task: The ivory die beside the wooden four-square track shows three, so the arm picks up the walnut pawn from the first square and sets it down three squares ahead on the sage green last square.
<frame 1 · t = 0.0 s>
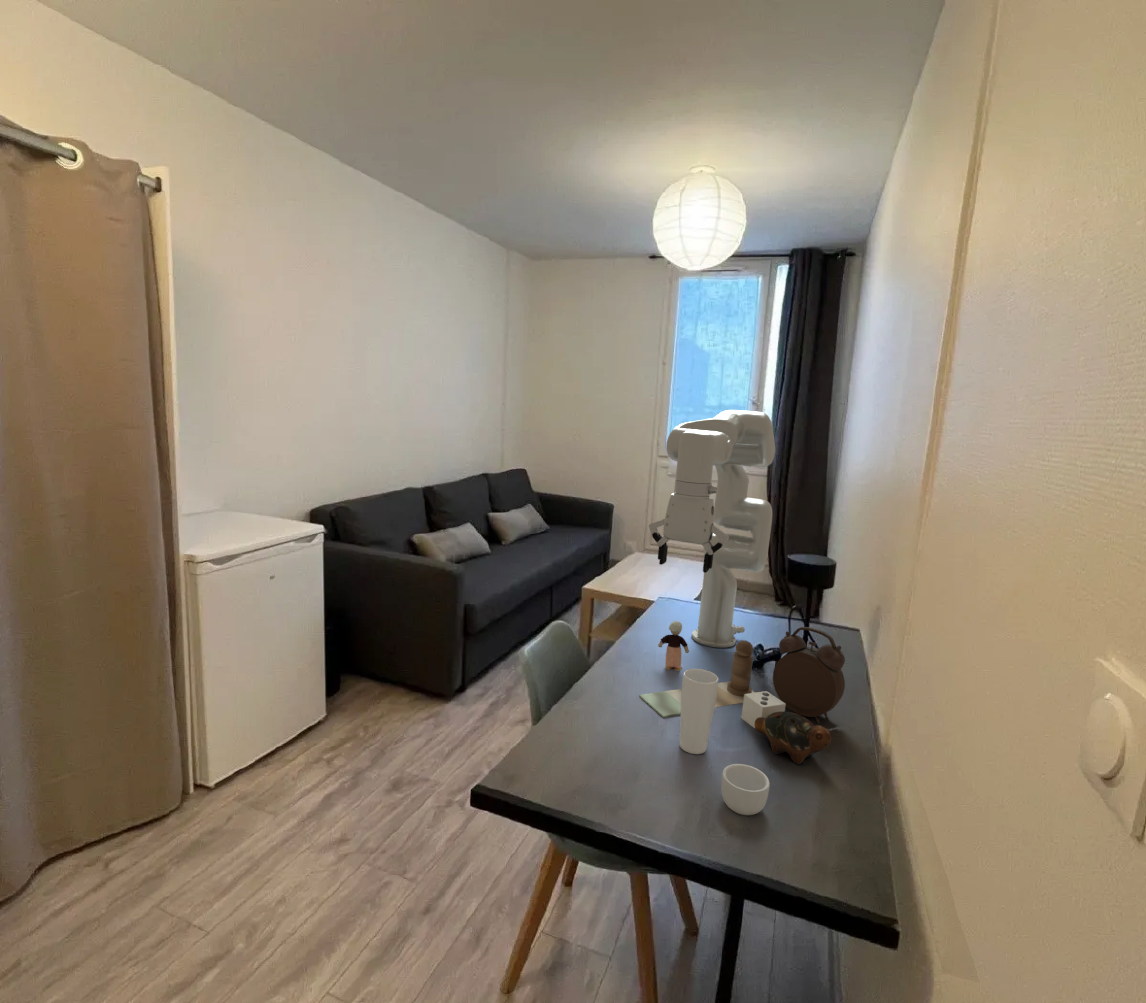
hand: (684, 567, 136), 31 cm above the table, tool pointing down, fingers open, 9 cm apart
track board: (702, 698, 143), on the table
die: (761, 725, 133), on the table
grandmother figurine: (671, 669, 158), on the table
pawn: (739, 691, 147), resting on track board
alarm clock: (803, 715, 139), on the table
decorative turtle: (788, 753, 123), on the table
teacup: (742, 804, 106), on the table
drinking glass: (692, 749, 122), on the table
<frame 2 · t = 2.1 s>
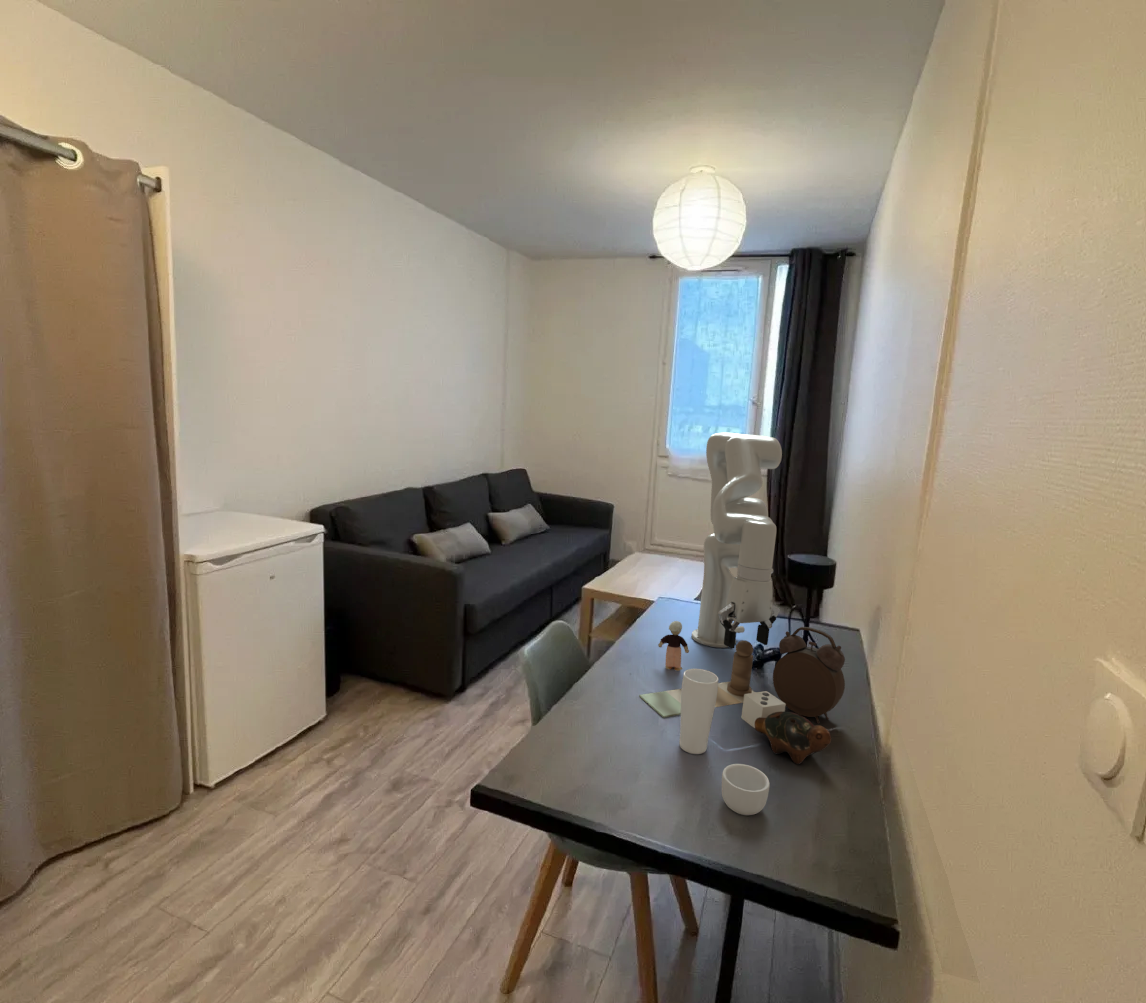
hand: (745, 644, 145), 12 cm above the table, tool pointing down, fingers open, 9 cm apart
nothing on the table moved.
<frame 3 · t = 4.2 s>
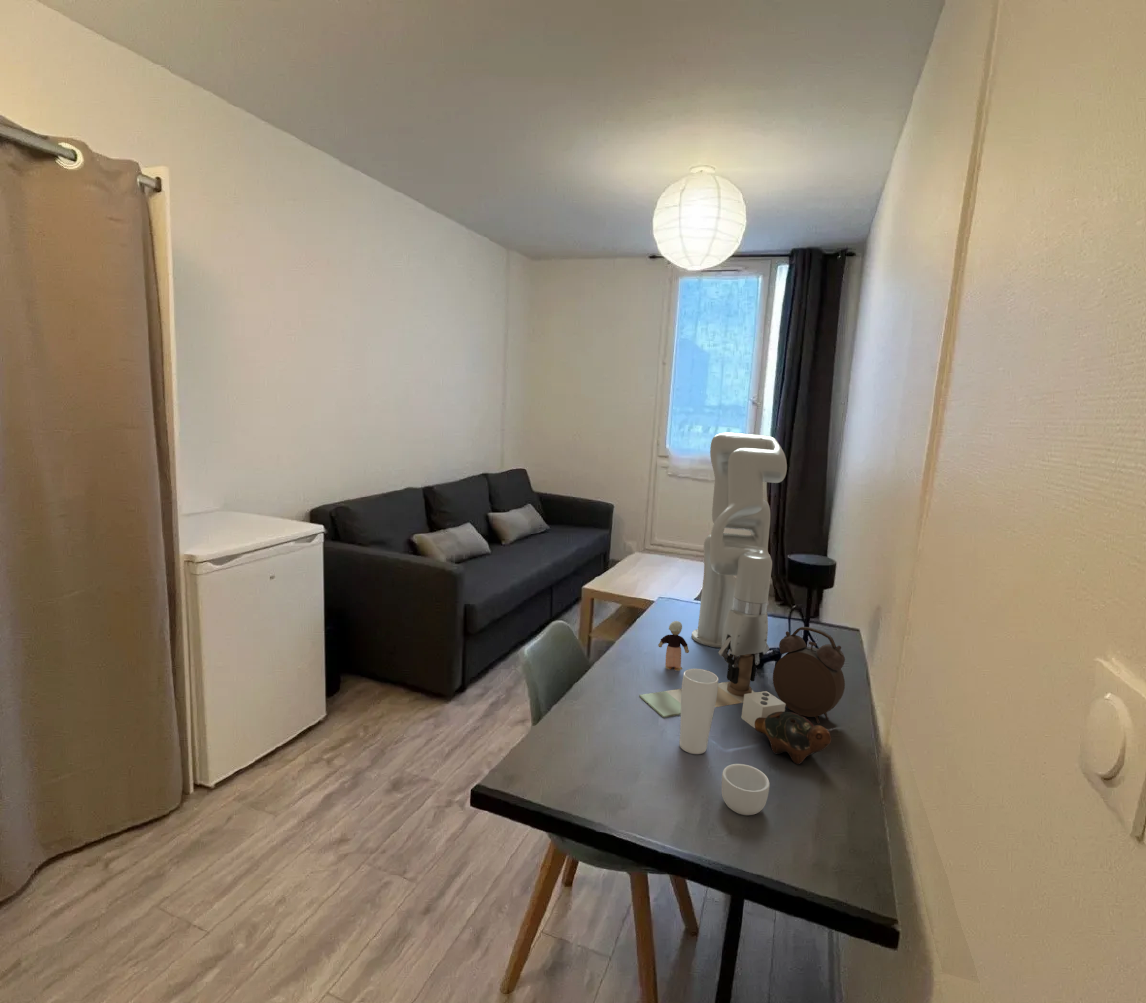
hand: (740, 679, 147), 3 cm above the table, tool pointing down, fingers closed on pawn, 4 cm apart
pawn: (739, 691, 147), resting on track board, touching gripper
everything else where it was.
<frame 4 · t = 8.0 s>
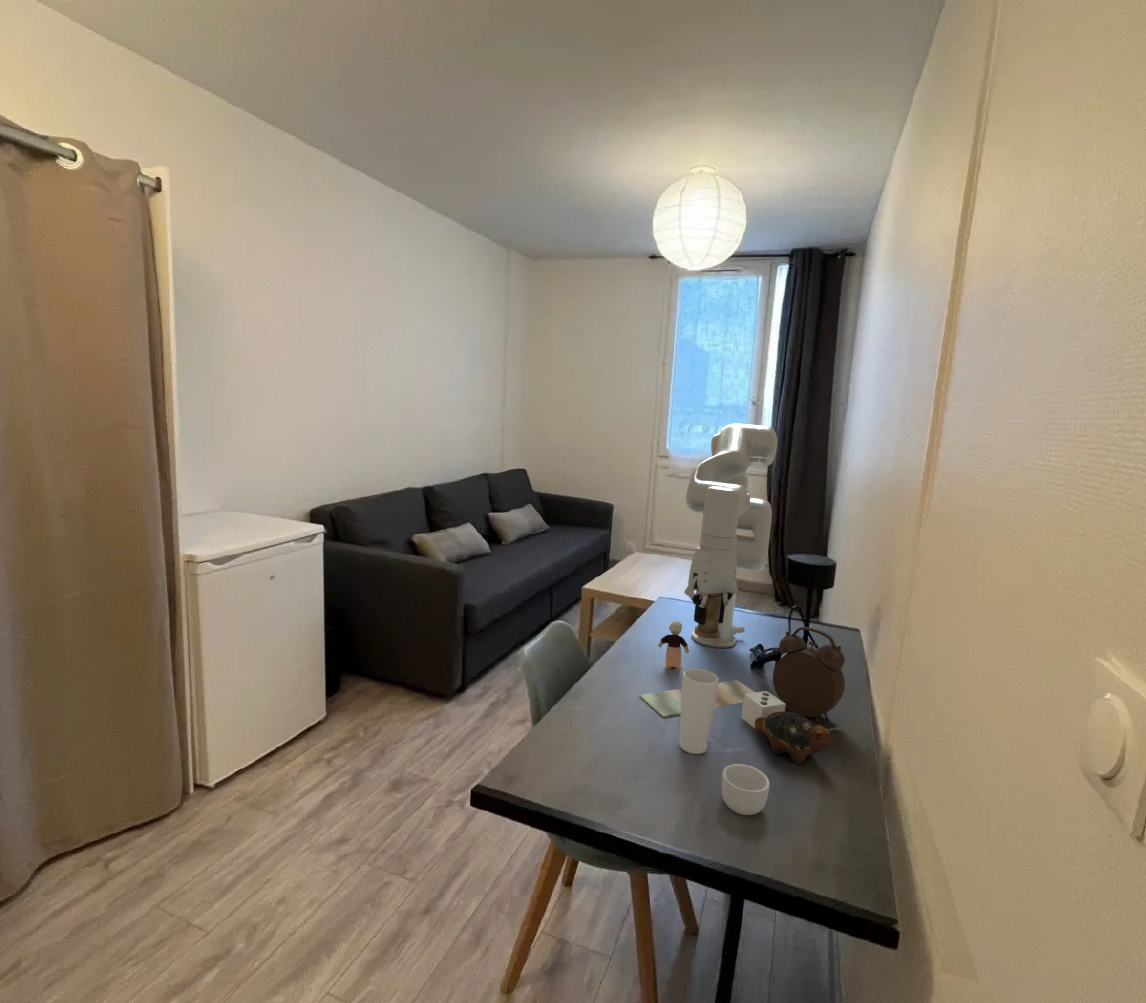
hand: (708, 621, 140), 19 cm above the table, tool pointing down, fingers closed on pawn, 4 cm apart
pawn: (707, 633, 140), point 16 cm above the table, touching gripper
everything else where it was.
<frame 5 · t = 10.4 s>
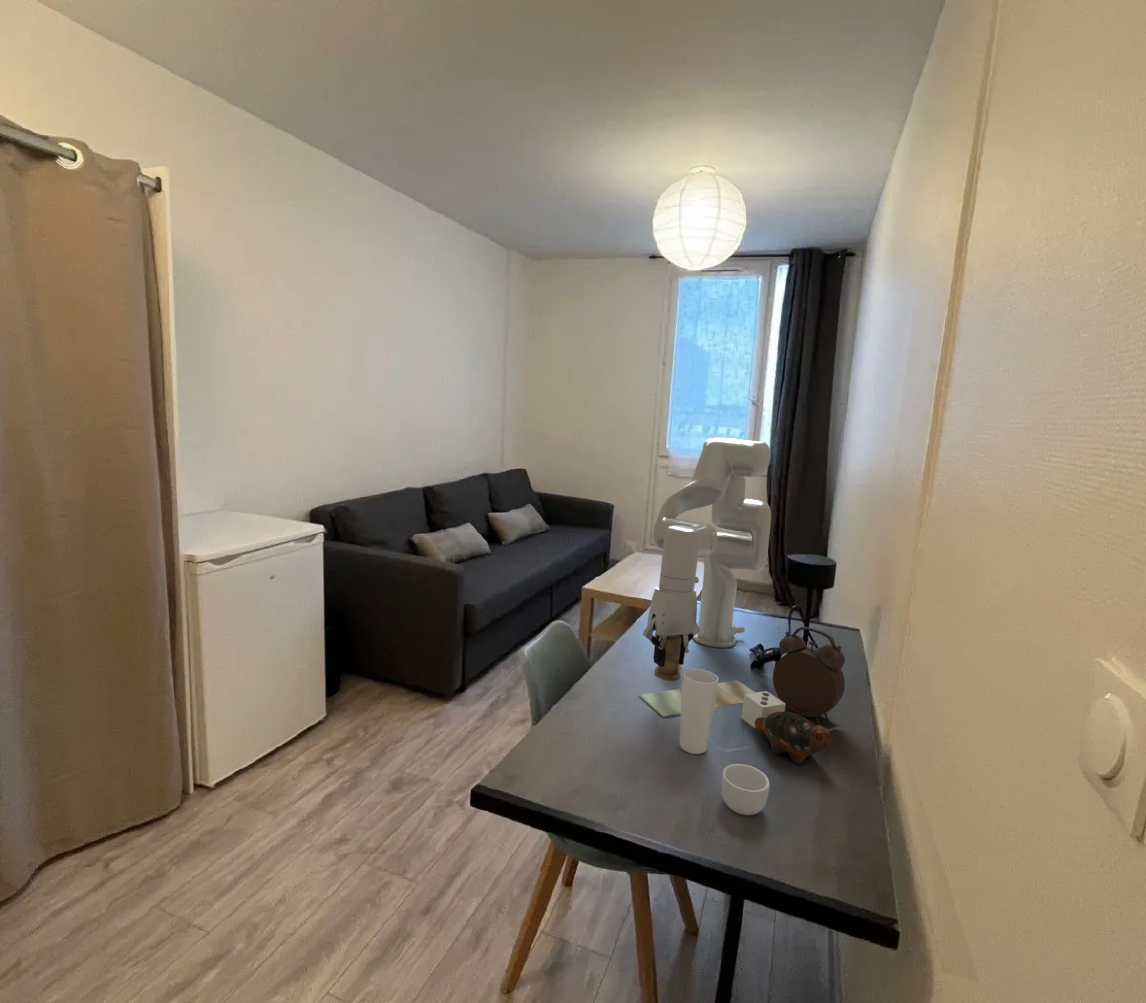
hand: (668, 662, 137), 10 cm above the table, tool pointing down, fingers closed on pawn, 4 cm apart
pawn: (667, 675, 137), point 7 cm above the table, touching gripper
everything else where it was.
when the fingers open (5 cm above the table, at t = 12.1 s): pawn drops 1 cm, resting on track board.
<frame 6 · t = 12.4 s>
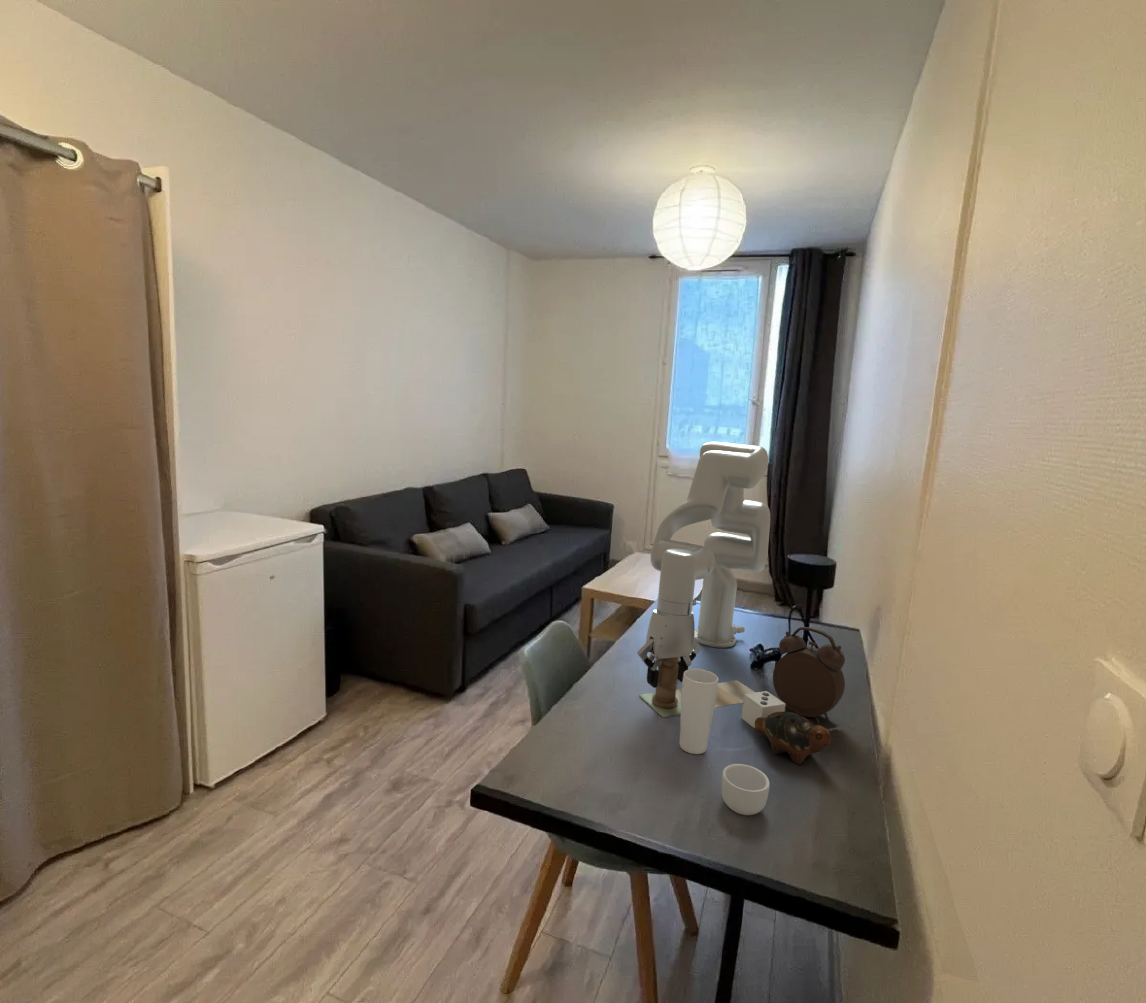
hand: (666, 682, 138), 5 cm above the table, tool pointing down, fingers open, 7 cm apart
pawn: (664, 702, 138), resting on track board
everything else where it was.
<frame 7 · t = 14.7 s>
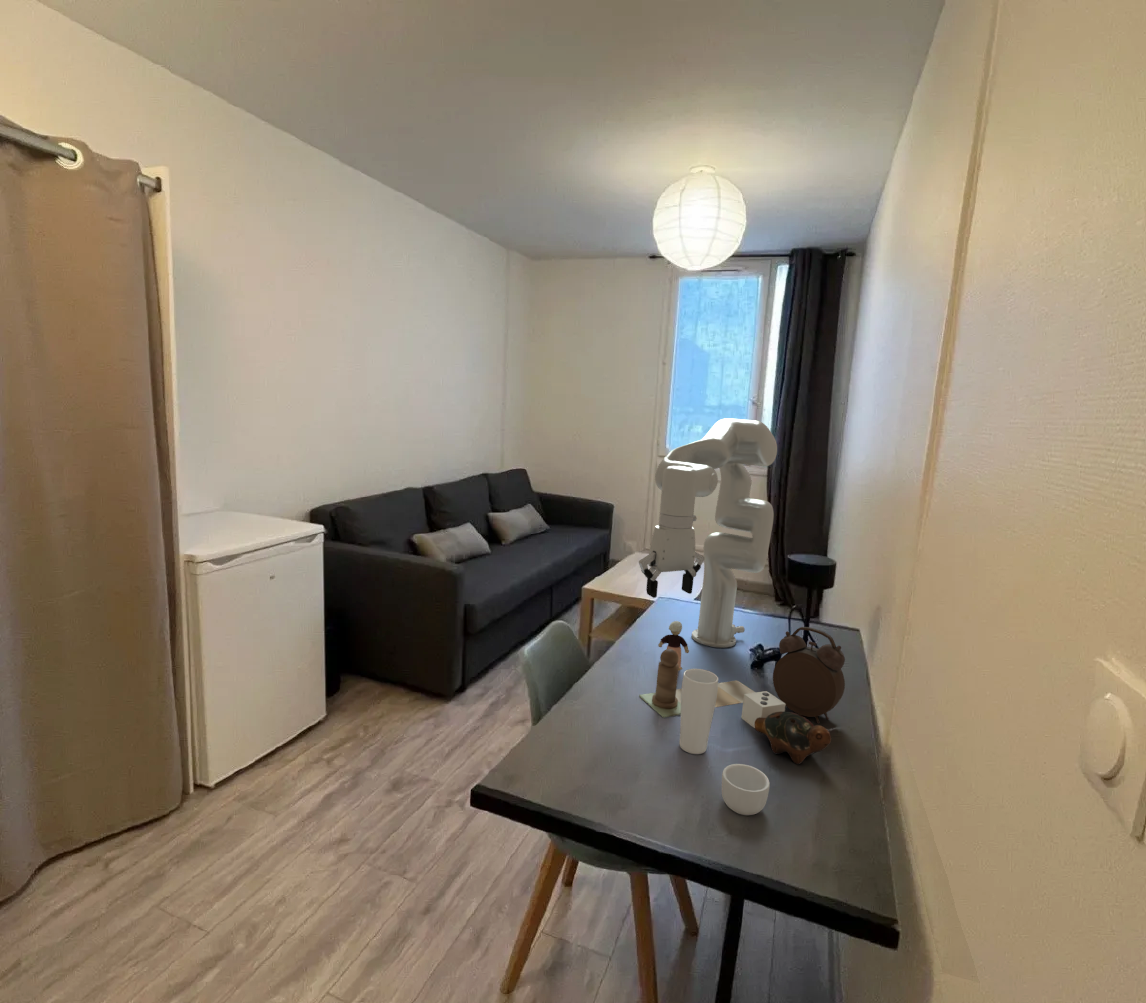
hand: (669, 593, 143), 23 cm above the table, tool pointing down, fingers open, 9 cm apart
nothing on the table moved.
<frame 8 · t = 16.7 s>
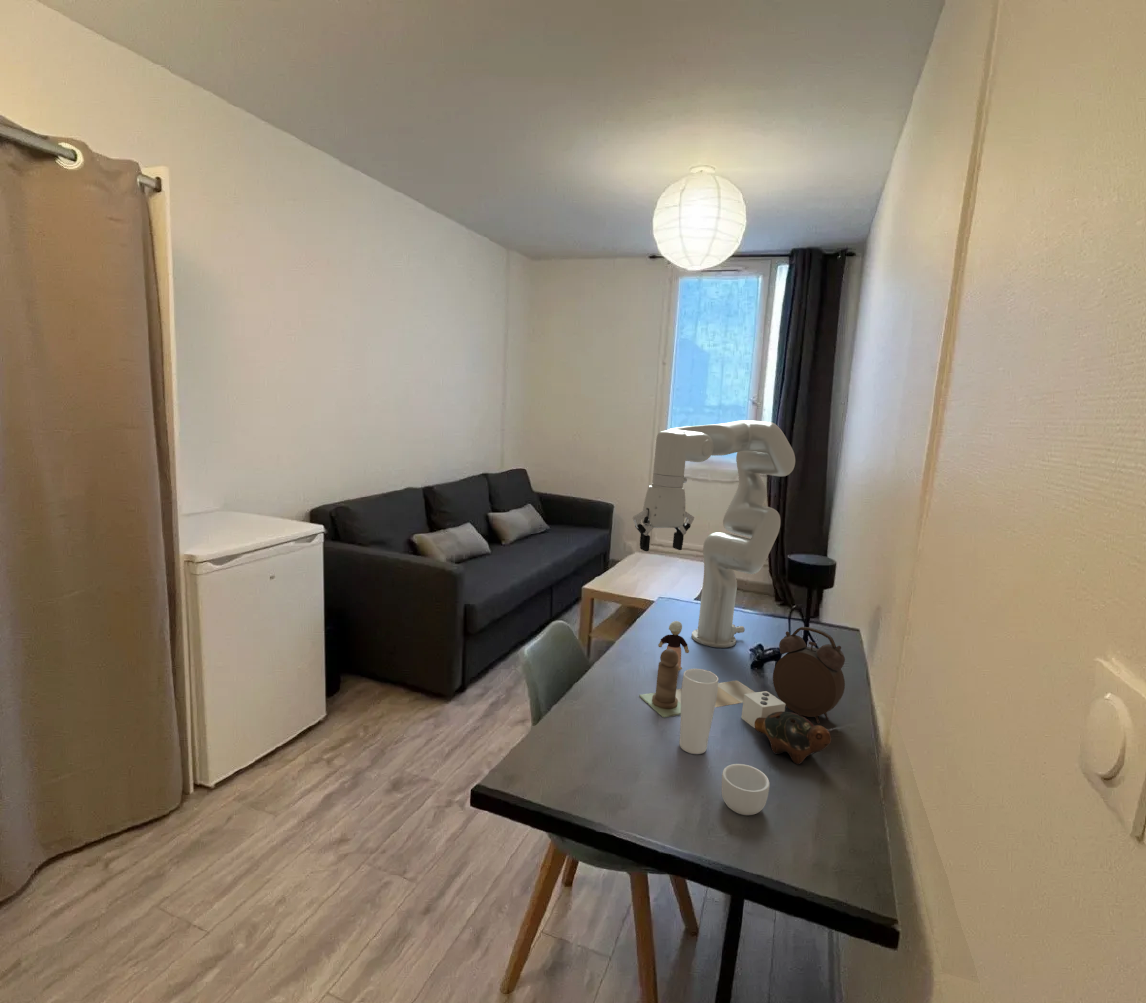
hand: (660, 549, 155), 30 cm above the table, tool pointing down, fingers open, 9 cm apart
nothing on the table moved.
at the end: pawn 0.0 cm from the target spot on the track board, point 0.4 cm above the track board's base; pawn tilted 0°; the gripper is holding nothing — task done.
